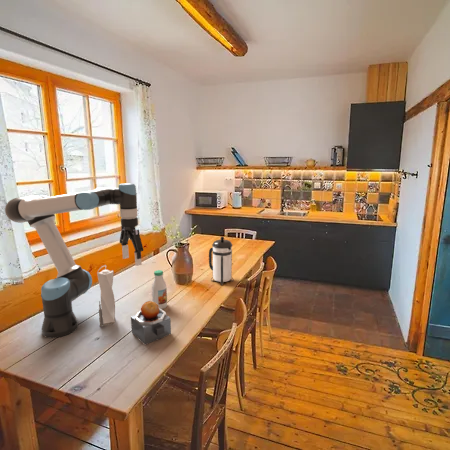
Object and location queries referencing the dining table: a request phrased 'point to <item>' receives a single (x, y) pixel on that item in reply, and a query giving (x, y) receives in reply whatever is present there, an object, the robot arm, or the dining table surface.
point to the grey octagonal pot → (151, 326)
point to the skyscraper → (106, 297)
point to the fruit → (150, 310)
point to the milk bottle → (159, 290)
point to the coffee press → (221, 260)
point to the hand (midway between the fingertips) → (132, 261)
